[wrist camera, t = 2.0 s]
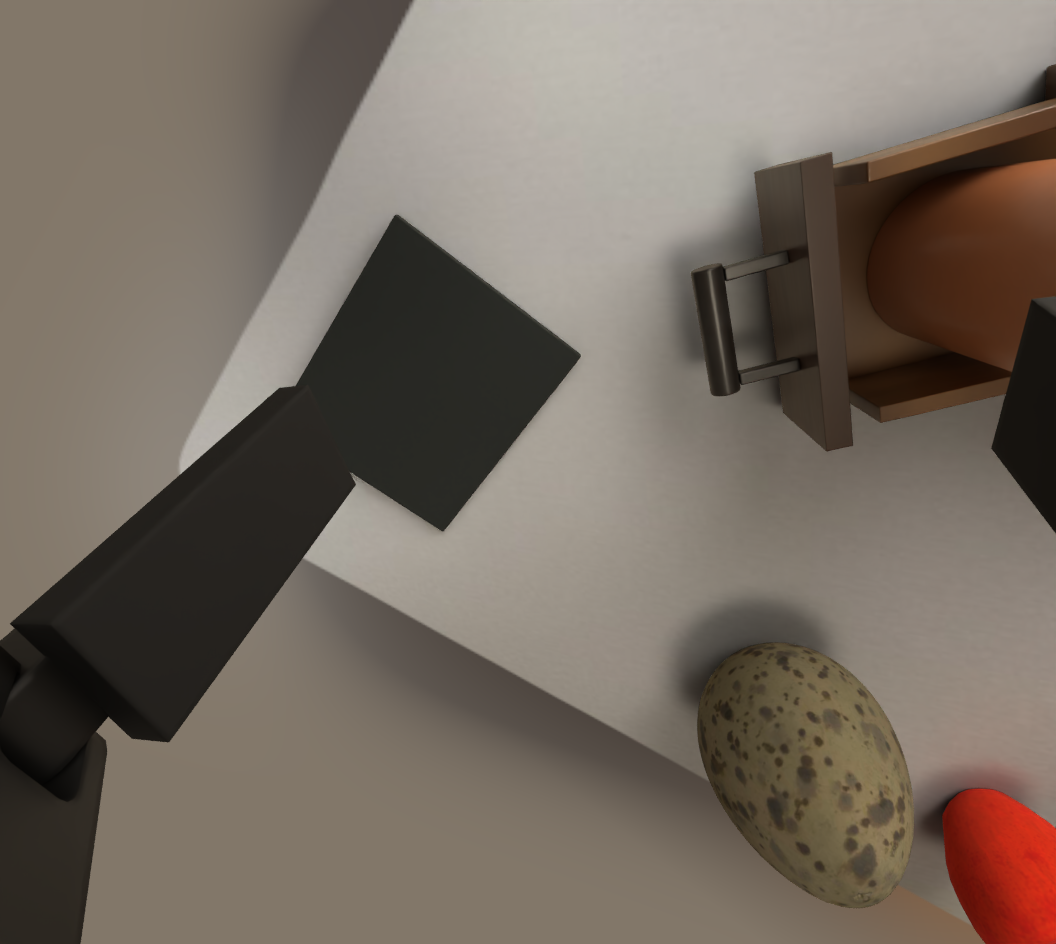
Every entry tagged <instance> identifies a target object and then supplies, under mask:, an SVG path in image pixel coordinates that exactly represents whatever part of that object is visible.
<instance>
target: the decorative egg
mask: <svg viewBox="0 0 1056 944" xmlns="http://www.w3.org/2000/svg"><path fill="white" fill-rule="evenodd" d="M697 731H698V742H699V748H700V753H701V757H702V761H703V764H704V768H705V771H706V773H707V776H708V779H709V781H710V783H711V785H712V787H713V790H714V791H715V793H716V796H717V798H718V799H719V801H720V803H721V804H722V806H723V808H724V810H725V811H726V813H727V814H728V816H729V817H730V819H731V820H732V822H733V823H734V824H735V825H736V827H737V829H738V830H739V831H740V832H741V834H742V835H743V836H744V837H745V839H746V840H747V841H748V842H749V843H750V845H751V846H752V847H753V848H754V849H755V850H756V851H757V852H758V853H759V854H760V856H762V857H763V858H764V859H765V860H766V861H767V862H768V863H769V864H770V865H771V866H772V867H773V868H775V869H776V870H777V871H778V872H779V873H781V874H782V875H783V876H784V877H786V878H787V879H788V880H790V881H791V882H792V883H794V884H795V885H797V886H798V887H800V888H801V889H803V890H804V891H806V892H807V893H809V894H811V895H813V896H815V897H817V898H818V899H820V900H823V901H825V902H827V903H831V904H835V905H838V906H841V907H848V908H865V907H869V906H873V905H875V904H878V903H879V902H881V901H883V900H884V899H885V898H886V897H888V896H889V895H890V894H891V893H892V892H893V890H894V889H895V888H896V886H897V885H898V883H899V881H900V880H901V878H902V876H903V874H904V871H905V869H906V866H907V863H908V860H909V857H910V852H911V847H912V840H913V831H914V807H913V795H912V788H911V782H910V778H909V773H908V769H907V765H906V761H905V758H904V755H903V752H902V749H901V746H900V744H899V741H898V739H897V737H896V734H895V732H894V730H893V728H892V726H891V724H890V722H889V720H888V718H887V716H886V715H885V713H884V711H883V710H882V708H881V707H880V705H879V704H878V702H877V701H876V700H875V698H874V697H873V696H872V694H871V693H870V692H869V691H868V690H867V689H866V687H865V686H864V685H863V684H862V683H861V682H860V681H859V680H858V679H857V678H856V677H855V676H854V675H853V674H851V673H850V672H849V671H848V670H847V669H845V668H844V667H843V666H841V665H840V664H838V663H837V662H835V661H834V660H832V659H831V658H829V657H827V656H825V655H823V654H821V653H819V652H817V651H814V650H812V649H809V648H806V647H803V646H799V645H795V644H789V643H777V642H775V643H762V644H756V645H753V646H749V647H746V648H744V649H742V650H739V651H738V652H736V653H734V654H732V655H731V656H730V657H728V658H727V659H726V660H725V661H723V662H722V663H721V664H720V665H719V666H718V668H717V669H716V670H715V671H714V673H713V674H712V676H711V677H710V679H709V680H708V682H707V684H706V687H705V689H704V691H703V694H702V697H701V700H700V704H699V710H698V720H697Z"/></svg>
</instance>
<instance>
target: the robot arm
mask: <svg viewBox="0 0 1056 944" xmlns="http://www.w3.org/2000/svg"><path fill="white" fill-rule="evenodd" d="M991 449H992V450H993V451H994V453H995V454H996V455H997V457H998V458H999V459H1000V461H1001V462H1002V463H1003V465H1004V466H1005V467H1006V468H1007V470H1008V471H1009V472H1010V474H1011V475H1012V476H1013V478H1014V479H1015V480H1016V482H1017V483H1018V484H1019V486H1020V487H1021V488H1022V490H1023V491H1024V492H1025V493H1026V495H1027V496H1028V497H1029V499H1030V500H1031V501H1032V503H1033V504H1034V505H1035V507H1036V508H1037V509H1038V511H1039V512H1040V513H1041V515H1042V516H1043V517H1044V518H1045V520H1046V521H1047V522H1048V524H1049V525H1050V526H1051V528H1052V529H1053V530H1054V532H1055V533H1056V296H1053V297H1045V298H1036V299H1031V303H1030V306H1029V310H1028V314H1027V318H1026V321H1025V325H1024V329H1023V332H1022V336H1021V340H1020V344H1019V347H1018V351H1017V355H1016V358H1015V362H1014V366H1013V370H1012V373H1011V377H1010V381H1009V384H1008V388H1007V392H1006V396H1005V399H1004V403H1003V407H1002V410H1001V414H1000V418H999V422H998V425H997V429H996V433H995V436H994V440H993V444H992V448H991ZM355 485H356V484H355V482H354V480H353V478H352V476H351V474H350V472H349V470H348V468H347V465H346V463H345V461H344V459H343V457H342V455H341V453H340V451H339V449H338V446H337V444H336V442H335V440H334V438H333V436H332V434H331V432H330V430H329V428H328V425H327V423H326V421H325V419H324V417H323V415H322V413H321V411H320V409H319V406H318V404H317V402H316V400H315V398H314V396H313V394H312V392H311V390H310V387H309V385H301V386H293V387H284V388H279V389H278V390H276V391H275V392H274V393H273V394H272V395H271V396H270V397H268V398H267V399H266V400H265V401H264V402H263V403H262V404H260V405H259V406H258V407H257V408H256V409H255V410H254V411H252V412H251V413H250V414H249V415H248V416H247V417H246V418H244V419H243V420H242V421H241V422H240V423H239V424H238V425H236V426H235V427H234V428H233V429H232V430H231V431H230V432H228V433H227V434H226V435H225V436H224V437H223V438H222V439H220V440H219V441H218V442H217V443H216V444H215V445H214V446H212V447H211V448H210V449H209V450H208V451H207V452H206V453H204V454H203V455H202V456H201V457H200V458H199V459H198V460H196V461H195V462H194V463H193V464H192V465H191V466H190V467H188V468H187V469H186V470H185V471H184V472H183V473H182V474H180V475H179V476H178V477H177V478H176V479H175V480H174V481H172V482H171V483H170V484H169V485H168V486H167V487H166V488H164V489H163V490H162V491H161V492H160V493H159V494H158V495H157V496H155V497H154V498H153V499H152V500H151V501H150V502H148V503H147V504H146V505H145V506H144V507H143V508H142V509H140V511H138V512H137V513H136V514H135V515H134V516H132V517H131V518H130V519H129V520H128V521H127V522H126V523H124V524H123V525H122V526H121V527H120V528H119V529H118V530H116V531H115V532H114V533H113V534H112V535H111V536H110V537H108V538H107V539H106V540H105V541H104V542H103V543H102V544H100V545H99V546H98V547H97V548H96V549H95V550H94V551H92V552H91V553H90V554H89V555H88V556H87V557H86V558H84V559H83V560H82V561H81V562H80V563H79V564H78V565H76V566H75V567H74V568H73V569H72V570H71V571H70V572H68V574H66V575H65V576H64V577H63V578H62V579H60V581H58V582H57V583H56V584H55V585H54V586H52V587H51V588H50V589H49V590H48V591H47V592H46V593H44V594H43V595H42V596H41V597H40V598H39V599H38V600H37V601H35V602H34V603H33V604H32V605H31V606H30V607H29V608H27V609H26V610H25V611H24V612H23V613H22V614H20V615H19V616H18V617H17V618H16V619H15V620H14V621H13V622H11V623H10V624H11V625H12V626H13V627H14V628H15V629H13V630H12V631H11V632H10V633H9V634H8V635H7V636H5V637H4V638H3V639H2V640H1V641H0V944H80V942H81V936H82V929H83V922H84V914H85V907H86V900H87V893H88V885H89V879H90V871H91V863H92V856H93V849H94V843H95V834H96V828H97V821H98V814H99V806H100V799H101V792H102V785H103V778H104V770H105V763H106V756H107V746H106V740H104V739H103V738H102V737H101V736H100V735H99V734H98V733H97V732H96V731H97V729H98V728H99V727H100V726H101V725H102V723H103V722H104V721H105V720H106V719H107V717H110V718H111V719H112V720H113V721H114V722H115V723H116V724H117V725H118V726H119V727H120V728H121V729H122V730H123V731H124V732H125V733H126V734H127V735H129V736H130V737H131V738H132V739H141V740H151V741H160V742H170V740H171V739H172V738H173V736H174V735H175V733H176V732H177V731H178V729H179V728H180V727H181V725H182V724H183V722H184V721H185V720H186V718H187V717H188V716H189V714H190V713H191V711H192V710H193V709H194V707H195V706H196V705H197V703H198V702H199V700H200V699H201V697H202V696H203V695H204V693H205V692H206V691H207V689H208V688H209V687H210V685H211V684H212V682H213V681H214V680H215V678H216V677H217V676H218V674H219V673H220V671H221V670H222V669H223V667H224V666H225V664H226V663H227V662H228V660H229V659H230V657H231V656H232V655H233V653H234V652H235V651H236V649H237V648H238V646H239V645H240V644H241V642H242V641H243V640H244V638H245V637H246V635H247V634H248V633H249V631H250V630H251V629H252V627H253V626H254V624H255V623H256V622H257V620H258V619H259V618H260V616H261V615H262V613H263V612H264V611H265V609H266V608H267V607H268V605H269V604H270V602H271V601H272V600H273V598H274V597H275V595H276V594H277V593H278V591H279V590H280V588H281V587H282V586H283V584H284V583H285V582H286V580H287V579H288V578H289V576H290V575H291V573H292V572H293V571H294V569H295V568H296V566H297V565H298V564H299V562H300V561H301V559H302V558H303V557H304V555H305V554H306V553H307V551H308V550H309V549H310V547H311V546H312V544H313V543H314V542H315V540H316V539H317V538H318V536H319V535H320V533H321V532H322V531H323V529H324V528H325V526H326V525H327V524H328V522H329V521H330V520H331V518H332V517H333V515H334V514H335V513H336V511H337V510H338V509H339V507H340V506H341V504H342V503H343V502H344V500H345V499H346V498H347V496H348V495H349V493H350V492H351V491H352V489H353V488H354V486H355Z"/></svg>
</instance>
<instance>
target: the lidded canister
mask: <svg viewBox="0 0 1056 944" xmlns="http://www.w3.org/2000/svg"><path fill="white" fill-rule="evenodd" d="M867 286H868V292H869V296H870V299H871V302H872V304H873V307H874V309H875V310H876V312H877V314H878V315H879V316H880V317H881V319H882V320H883V321H884V322H885V323H886V324H887V325H889V326H890V327H891V328H892V329H894V330H896V331H897V332H899V333H902V334H904V335H907V336H909V337H912V338H915V339H918V340H921V341H924V342H927V343H930V344H932V345H935V346H938V347H941V348H944V349H947V350H950V351H953V352H956V353H959V354H961V355H964V356H967V357H970V358H973V359H976V360H979V361H982V362H985V363H988V364H990V365H993V366H996V367H999V368H1002V369H1005V370H1008V371H1011V372H1012V370H1013V366H1014V362H1015V358H1016V355H1017V351H1018V347H1019V344H1020V340H1021V336H1022V332H1023V329H1024V325H1025V321H1026V318H1027V314H1028V310H1029V306H1030V303H1031V299H1036V298H1045V297H1053V296H1056V159H1048V160H1040V161H1031V162H1023V163H1014V164H1006V165H997V166H988V167H980V168H971V169H964V170H959V171H954V172H951V173H948V174H944V175H942V176H940V177H937V178H935V179H933V180H931V181H929V182H927V183H926V184H924V185H922V186H921V187H919V188H918V189H916V190H915V191H914V192H912V193H911V194H910V195H909V196H908V197H906V198H905V199H904V200H903V201H902V202H901V203H900V204H899V205H898V206H897V207H896V208H895V210H894V211H893V212H892V213H891V214H890V216H889V217H888V218H887V220H886V221H885V222H884V224H883V226H882V227H881V229H880V231H879V233H878V235H877V237H876V239H875V241H874V244H873V246H872V249H871V253H870V256H869V261H868V267H867Z"/></svg>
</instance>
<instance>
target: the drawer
mask: <svg viewBox="0 0 1056 944" xmlns="http://www.w3.org/2000/svg"><path fill="white" fill-rule="evenodd" d="M1048 159H1056V98H1053V99H1050V100H1046V101H1043V102H1040V103H1036V104H1033V105H1030V106H1027V107H1023V108H1020V109H1017V110H1013V111H1010V112H1007V113H1003V114H1000V115H997V116H993V117H990V118H987V119H984V120H980V121H977V122H974V123H970V124H967V125H964V126H960V127H957V128H954V129H950V130H947V131H944V132H940V133H937V134H934V135H931V136H927V137H924V138H921V139H917V140H914V141H911V142H907V143H904V144H901V145H897V146H894V147H891V148H888V149H884V150H881V151H878V152H874V153H871V154H868V155H864V156H861V157H858V158H854V159H851V160H848V161H845V162H841V163H838V164H835V165H833V160H832V152H829V153H825V154H821V155H817V156H813V157H808V158H804V159H800V160H796V161H792V162H787V163H783V164H779V165H776V166H772V167H769V168H766V169H763V170H759V171H756V172H755V173H754V174H755V183H756V191H757V200H758V208H759V216H760V225H761V233H762V241H763V250H764V255H762V256H759V257H755V258H752V259H748V260H745V261H741V262H738V263H734V264H730V265H727V266H723V265H722V264H720V263H717V264H711V265H707V266H703V267H700V268H697V269H694V270H693V271H691V278H692V284H693V290H694V296H695V302H696V308H697V314H698V320H699V326H700V332H701V338H702V344H703V350H704V356H705V362H706V368H707V374H708V380H709V386H710V391H711V394H712V395H713V396H727V395H731V394H734V393H736V392H738V391H739V390H740V384H741V385H744V384H748V383H752V382H756V381H760V380H764V379H768V378H772V377H776V376H779V384H780V392H781V400H782V409H783V413H784V414H785V415H786V416H787V417H788V418H789V419H790V420H792V421H793V422H794V423H795V424H796V425H797V426H798V427H799V428H801V429H802V430H803V431H804V432H805V433H806V434H807V435H808V436H810V437H811V438H812V439H813V440H814V441H815V442H816V443H818V444H819V445H820V446H821V447H822V448H823V449H824V450H825V451H831V450H836V449H840V448H845V447H849V446H853V437H852V423H851V409H850V403H851V404H852V405H854V406H855V407H857V408H858V409H860V410H861V411H863V412H864V413H866V414H868V415H869V416H871V417H872V418H874V419H875V420H877V421H878V422H880V423H883V422H887V421H891V420H896V419H900V418H904V417H909V416H913V415H917V414H922V413H926V412H930V411H934V410H939V409H943V408H947V407H952V406H956V405H960V404H965V403H969V402H973V401H978V400H982V399H986V398H990V397H995V396H999V395H1003V394H1006V392H1007V388H1008V384H1009V381H1010V377H1011V373H1012V372H1011V371H1008V370H1005V369H1002V368H999V367H996V366H993V365H990V364H988V363H985V362H982V361H979V360H976V359H973V358H970V357H967V356H964V355H961V354H959V353H956V352H953V351H950V350H947V349H944V348H941V347H938V346H935V345H932V344H930V343H927V342H924V341H921V340H918V339H915V338H912V337H909V336H907V335H904V334H902V333H899V332H897V331H896V330H894V329H892V328H891V327H890V326H889V325H887V324H886V323H885V322H884V321H883V320H882V319H881V317H880V316H879V315H878V314H877V312H876V310H875V309H874V307H873V304H872V302H871V299H870V296H869V292H868V286H867V267H868V261H869V256H870V253H871V249H872V246H873V244H874V241H875V239H876V237H877V235H878V233H879V231H880V229H881V227H882V226H883V224H884V222H885V221H886V220H887V218H888V217H889V216H890V214H891V213H892V212H893V211H894V210H895V208H896V207H897V206H898V205H899V204H900V203H901V202H902V201H903V200H904V199H905V198H906V197H908V196H909V195H910V194H911V193H912V192H914V191H915V190H916V189H918V188H919V187H921V186H922V185H924V184H926V183H927V182H929V181H931V180H933V179H935V178H937V177H940V176H942V175H944V174H948V173H951V172H954V171H959V170H964V169H971V168H980V167H988V166H997V165H1006V164H1014V163H1023V162H1031V161H1040V160H1048ZM765 270H766V275H767V283H768V292H769V300H770V308H771V317H772V325H773V333H774V342H775V350H776V359H777V361H775V362H771V363H767V364H763V365H759V366H755V367H751V368H748V369H744V370H740V371H738V367H737V360H736V353H735V347H734V340H733V333H732V326H731V319H730V313H729V306H728V299H727V292H726V285H725V281H729V280H733V279H736V278H740V277H743V276H747V275H750V274H754V273H758V272H761V271H765Z"/></svg>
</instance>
